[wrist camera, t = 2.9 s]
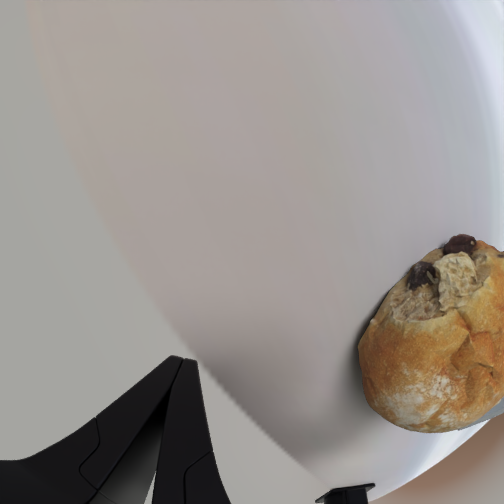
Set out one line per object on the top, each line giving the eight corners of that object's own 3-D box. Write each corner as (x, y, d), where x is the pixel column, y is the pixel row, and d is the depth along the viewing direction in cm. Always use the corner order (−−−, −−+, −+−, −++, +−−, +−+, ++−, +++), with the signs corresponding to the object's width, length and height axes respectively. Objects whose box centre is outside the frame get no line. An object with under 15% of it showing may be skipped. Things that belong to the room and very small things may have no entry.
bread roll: (330, 332, 16) (336, 455, 11) (389, 203, 9) (455, 442, 3) (448, 324, 16) (467, 421, 11) (527, 226, 8) (583, 356, 3)
